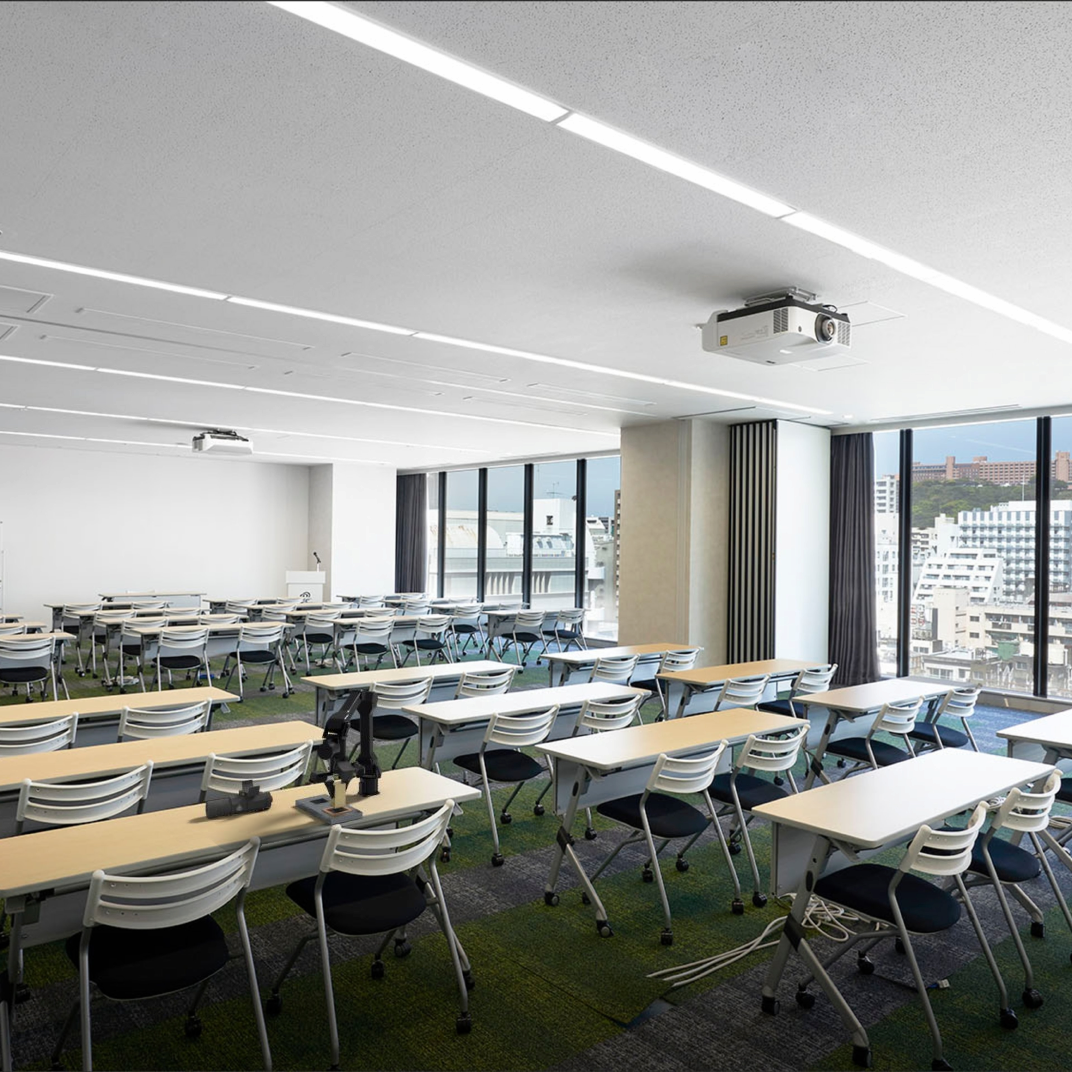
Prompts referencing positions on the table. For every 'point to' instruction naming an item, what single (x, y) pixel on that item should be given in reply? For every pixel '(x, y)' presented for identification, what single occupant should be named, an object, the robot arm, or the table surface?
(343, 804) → the brass peg
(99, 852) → the table surface
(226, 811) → the laser sight
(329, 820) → the socket plate
